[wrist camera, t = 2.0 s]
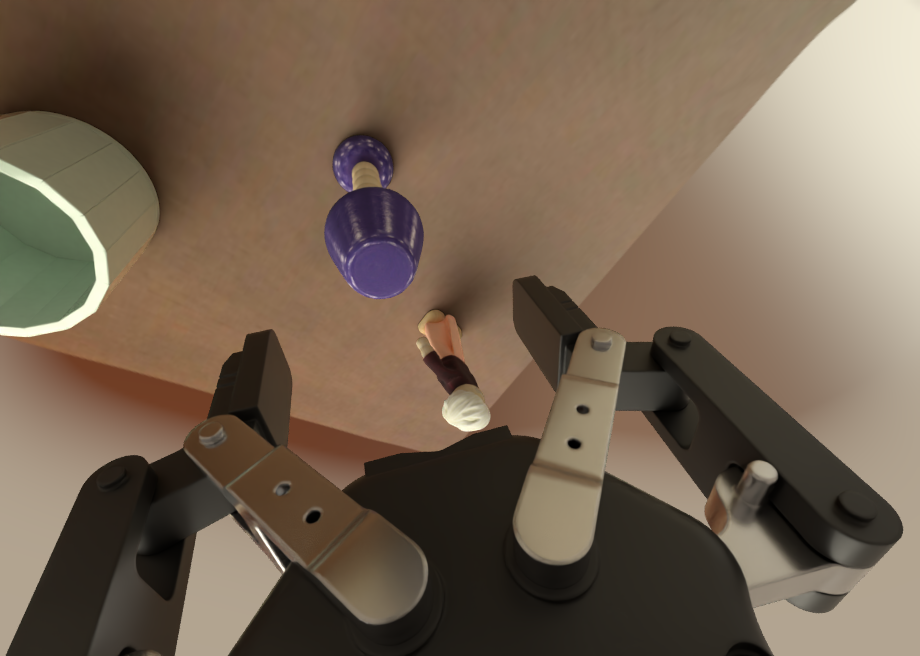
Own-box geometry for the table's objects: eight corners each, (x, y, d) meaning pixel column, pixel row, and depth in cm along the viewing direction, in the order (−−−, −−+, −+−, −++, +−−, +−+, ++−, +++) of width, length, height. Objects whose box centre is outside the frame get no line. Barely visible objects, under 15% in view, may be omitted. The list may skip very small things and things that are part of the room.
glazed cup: (-78, 122, 24) (-247, 161, 17) (112, 100, 26) (31, 127, 18) (35, 275, 30) (-56, 353, 22) (185, 249, 31) (145, 314, 24)
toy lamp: (357, 212, 33) (381, 336, 20) (308, 163, 30) (299, 269, 17) (404, 169, 32) (463, 268, 19) (359, 115, 29) (390, 186, 16)
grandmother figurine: (478, 329, 42) (528, 424, 32) (453, 356, 43) (493, 457, 33) (417, 290, 38) (452, 385, 28) (390, 321, 39) (415, 424, 29)
